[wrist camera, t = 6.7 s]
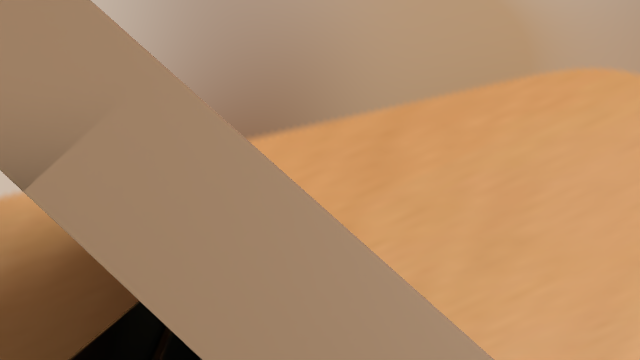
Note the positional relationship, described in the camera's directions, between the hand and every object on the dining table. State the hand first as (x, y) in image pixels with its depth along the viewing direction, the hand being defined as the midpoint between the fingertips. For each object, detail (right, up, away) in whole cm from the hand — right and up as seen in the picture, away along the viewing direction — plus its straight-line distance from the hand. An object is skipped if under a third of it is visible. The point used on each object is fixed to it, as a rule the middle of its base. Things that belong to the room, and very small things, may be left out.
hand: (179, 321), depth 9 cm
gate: (+6, -6, +5) cm, 10 cm away
